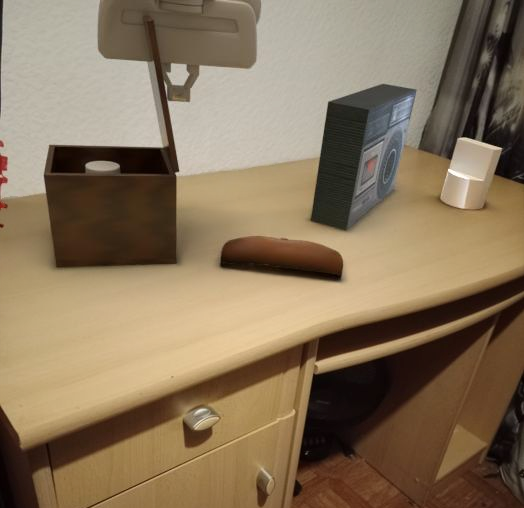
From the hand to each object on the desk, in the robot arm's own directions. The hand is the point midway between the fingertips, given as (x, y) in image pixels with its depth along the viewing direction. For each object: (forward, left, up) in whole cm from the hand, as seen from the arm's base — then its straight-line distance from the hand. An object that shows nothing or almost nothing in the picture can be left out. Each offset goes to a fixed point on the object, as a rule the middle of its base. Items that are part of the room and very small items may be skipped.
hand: (178, 100), depth 73 cm
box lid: (-3, 0, +1) cm, 3 cm away
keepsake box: (-9, 0, -21) cm, 23 cm away
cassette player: (+38, +17, -21) cm, 46 cm away
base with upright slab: (+63, +18, -21) cm, 68 cm away
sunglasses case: (+15, -8, -21) cm, 27 cm away
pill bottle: (-10, 0, -20) cm, 23 cm away
